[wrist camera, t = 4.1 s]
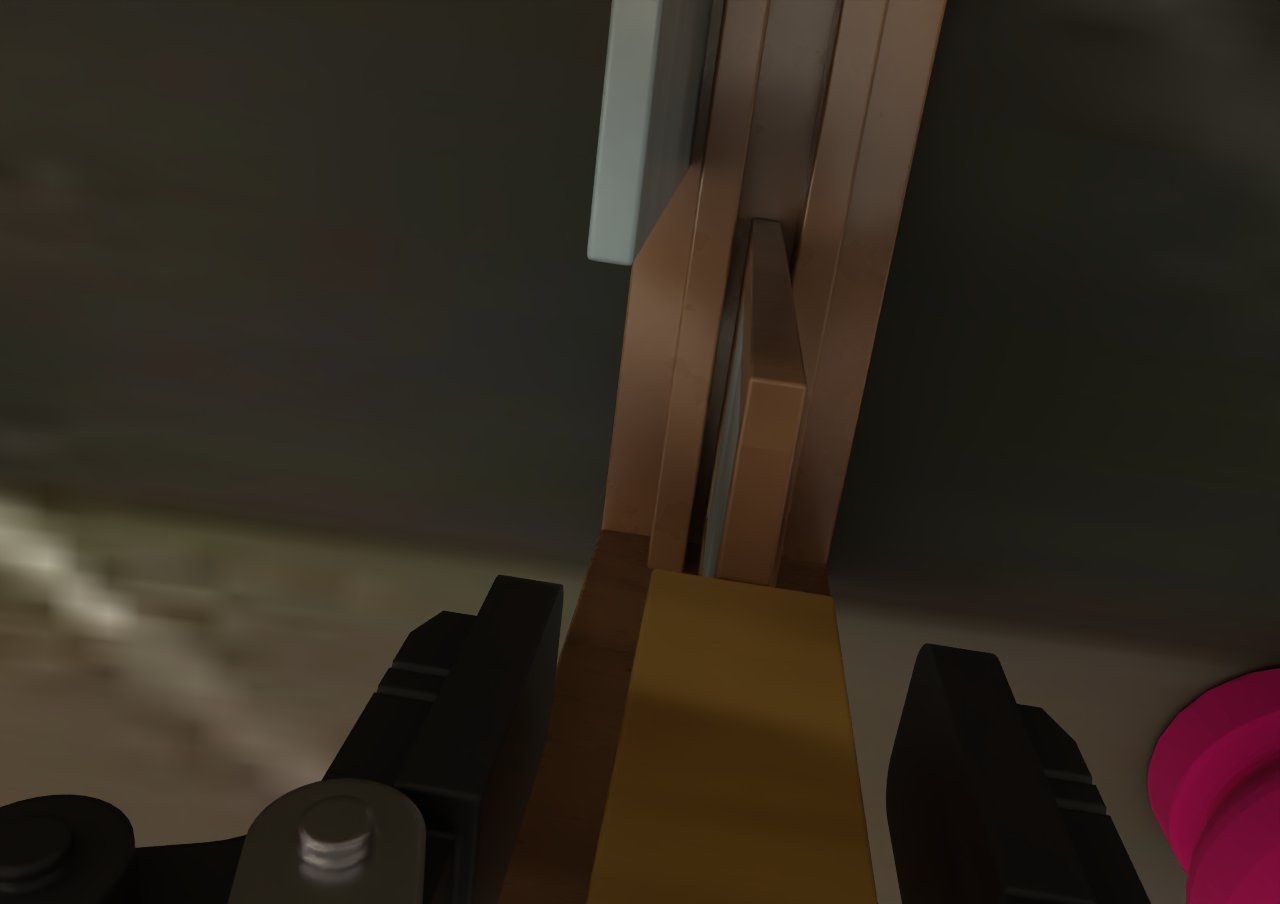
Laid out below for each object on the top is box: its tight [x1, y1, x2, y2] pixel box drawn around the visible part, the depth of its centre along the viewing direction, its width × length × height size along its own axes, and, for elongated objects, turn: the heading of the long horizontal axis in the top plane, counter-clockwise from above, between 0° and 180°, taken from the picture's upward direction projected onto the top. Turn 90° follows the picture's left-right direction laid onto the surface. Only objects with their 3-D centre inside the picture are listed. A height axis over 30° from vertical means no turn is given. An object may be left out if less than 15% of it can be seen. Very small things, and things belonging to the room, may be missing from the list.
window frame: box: [498, 0, 947, 904], centre depth 15 cm, size 18×5×13 cm, turn 173°
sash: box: [585, 219, 878, 904], centre depth 14 cm, size 7×2×16 cm, turn 173°
